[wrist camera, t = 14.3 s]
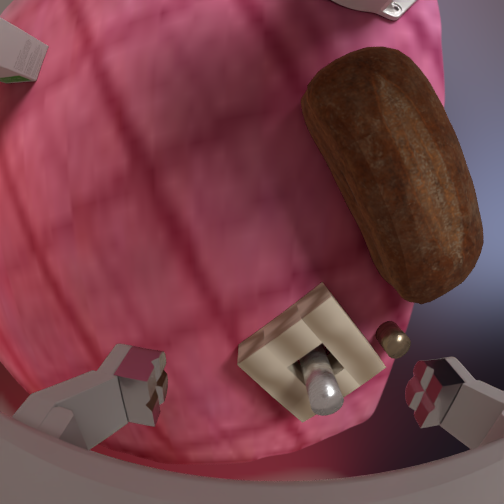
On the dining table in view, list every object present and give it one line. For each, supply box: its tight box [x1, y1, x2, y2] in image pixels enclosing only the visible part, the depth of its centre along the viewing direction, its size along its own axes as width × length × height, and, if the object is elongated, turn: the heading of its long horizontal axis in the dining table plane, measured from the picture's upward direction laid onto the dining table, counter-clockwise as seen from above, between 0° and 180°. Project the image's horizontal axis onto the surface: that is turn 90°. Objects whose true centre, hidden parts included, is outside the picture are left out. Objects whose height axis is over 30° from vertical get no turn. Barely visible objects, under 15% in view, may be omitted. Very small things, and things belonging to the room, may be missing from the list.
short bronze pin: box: [376, 321, 411, 358], centre depth 38 cm, size 4×4×4 cm
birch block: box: [237, 282, 386, 422], centre depth 38 cm, size 14×14×5 cm
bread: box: [301, 47, 483, 304], centre depth 29 cm, size 14×28×12 cm, turn 29°
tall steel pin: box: [299, 343, 344, 415], centre depth 35 cm, size 4×4×12 cm
